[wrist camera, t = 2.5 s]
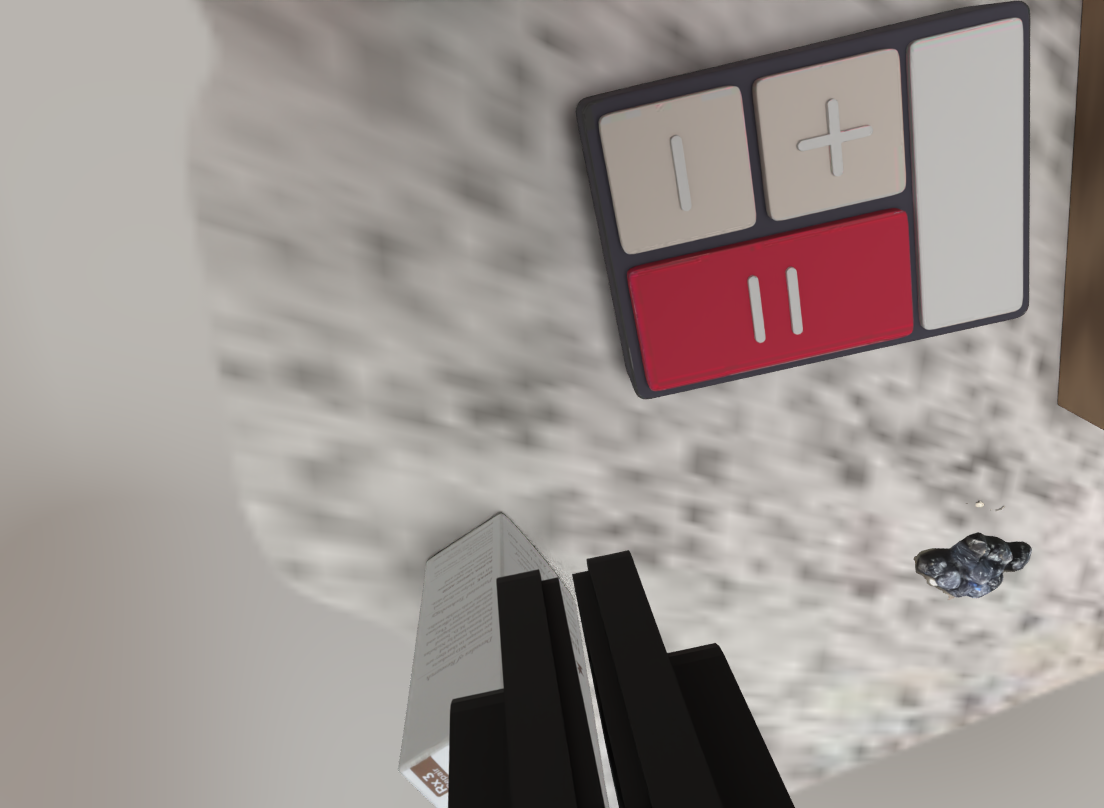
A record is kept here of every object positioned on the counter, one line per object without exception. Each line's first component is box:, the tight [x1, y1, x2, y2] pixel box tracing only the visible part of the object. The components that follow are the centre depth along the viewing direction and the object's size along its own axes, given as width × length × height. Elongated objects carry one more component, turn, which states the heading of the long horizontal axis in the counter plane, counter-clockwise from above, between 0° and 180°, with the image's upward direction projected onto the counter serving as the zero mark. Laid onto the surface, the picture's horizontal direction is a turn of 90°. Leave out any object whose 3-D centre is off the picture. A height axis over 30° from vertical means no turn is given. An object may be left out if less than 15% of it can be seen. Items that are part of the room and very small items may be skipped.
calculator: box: [576, 1, 1030, 399], centre depth 30 cm, size 11×4×15 cm
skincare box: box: [398, 514, 609, 808], centre depth 31 cm, size 6×4×12 cm
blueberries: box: [914, 501, 1032, 600], centre depth 38 cm, size 7×8×2 cm
